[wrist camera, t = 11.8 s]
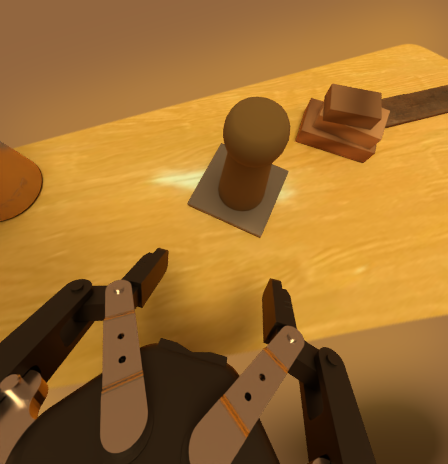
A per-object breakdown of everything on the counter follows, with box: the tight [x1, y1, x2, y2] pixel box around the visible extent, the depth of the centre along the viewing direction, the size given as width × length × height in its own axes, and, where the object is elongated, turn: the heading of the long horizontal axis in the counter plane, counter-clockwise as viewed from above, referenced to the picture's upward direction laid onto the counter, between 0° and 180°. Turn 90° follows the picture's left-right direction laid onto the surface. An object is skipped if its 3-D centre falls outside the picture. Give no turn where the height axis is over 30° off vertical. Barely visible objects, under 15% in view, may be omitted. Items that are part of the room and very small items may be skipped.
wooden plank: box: [381, 85, 448, 128], centre depth 29 cm, size 17×1×5 cm
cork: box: [218, 97, 290, 211], centre depth 18 cm, size 6×6×11 cm
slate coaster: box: [187, 143, 289, 238], centre depth 24 cm, size 10×10×1 cm
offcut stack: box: [296, 84, 390, 163], centre depth 24 cm, size 10×6×5 cm, turn 70°
